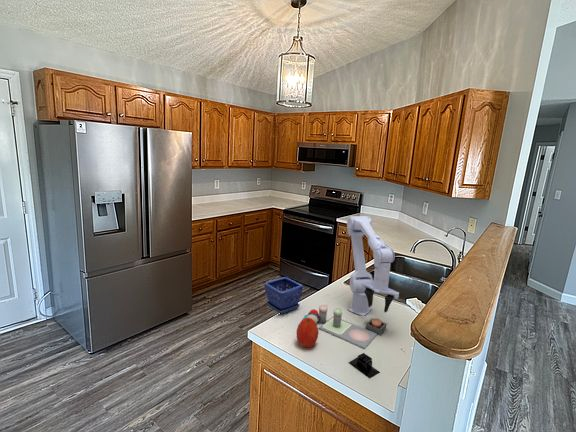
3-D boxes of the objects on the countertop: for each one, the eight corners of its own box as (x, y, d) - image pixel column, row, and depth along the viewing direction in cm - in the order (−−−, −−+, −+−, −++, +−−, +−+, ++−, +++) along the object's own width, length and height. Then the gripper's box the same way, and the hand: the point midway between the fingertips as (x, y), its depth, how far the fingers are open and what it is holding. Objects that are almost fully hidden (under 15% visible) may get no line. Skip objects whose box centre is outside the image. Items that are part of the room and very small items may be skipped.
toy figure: (316, 341, 121) (323, 316, 134) (316, 330, 119) (322, 307, 132) (298, 338, 123) (306, 314, 136) (297, 328, 121) (305, 305, 135)
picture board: (333, 317, 135) (333, 315, 135) (377, 335, 123) (377, 333, 123) (318, 328, 126) (318, 327, 126) (364, 349, 114) (364, 347, 114)
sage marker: (335, 322, 130) (336, 307, 128) (342, 325, 128) (343, 310, 126) (330, 326, 127) (332, 310, 126) (338, 329, 125) (339, 313, 124)
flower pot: (262, 306, 143) (263, 282, 140) (284, 298, 151) (285, 275, 148) (280, 318, 133) (281, 293, 130) (302, 309, 141) (304, 285, 139)
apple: (312, 336, 121) (314, 311, 119) (321, 348, 113) (323, 322, 111) (293, 339, 118) (294, 313, 116) (300, 352, 111) (301, 325, 109)
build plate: (343, 362, 107) (344, 350, 106) (357, 354, 111) (358, 343, 110) (371, 384, 97) (373, 372, 96) (386, 375, 102) (387, 363, 101)
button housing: (371, 323, 132) (372, 318, 131) (386, 329, 128) (386, 323, 127) (365, 329, 127) (365, 324, 126) (380, 335, 123) (380, 330, 122)
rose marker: (320, 319, 133) (321, 304, 132) (327, 321, 132) (328, 306, 130) (316, 322, 130) (317, 307, 129) (324, 325, 129) (325, 310, 127)
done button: (373, 321, 129) (374, 317, 129) (382, 324, 127) (382, 320, 127) (370, 325, 126) (370, 320, 126) (378, 328, 124) (379, 324, 124)
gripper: (360, 275, 124) (357, 306, 126) (396, 285, 115) (392, 318, 118) (367, 270, 129) (364, 300, 132) (402, 280, 120) (398, 311, 123)
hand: (378, 308), depth 125 cm, fingers open, 6 cm apart
